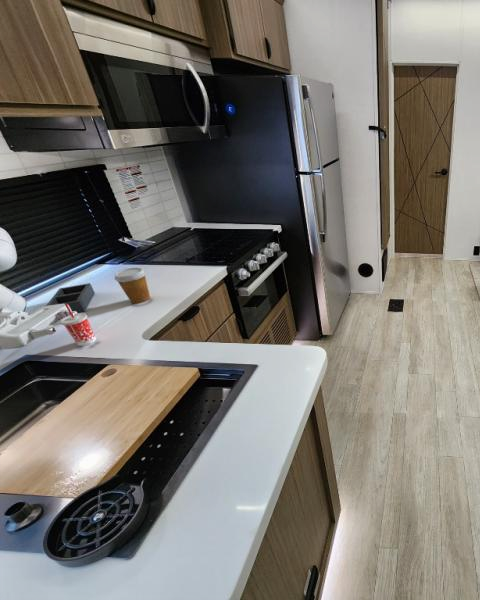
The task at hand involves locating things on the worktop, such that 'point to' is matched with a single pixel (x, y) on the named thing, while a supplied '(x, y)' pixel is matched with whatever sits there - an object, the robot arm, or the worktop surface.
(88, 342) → the beverage cup
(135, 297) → the disposable coffee cup
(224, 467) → the worktop surface
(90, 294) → the box
